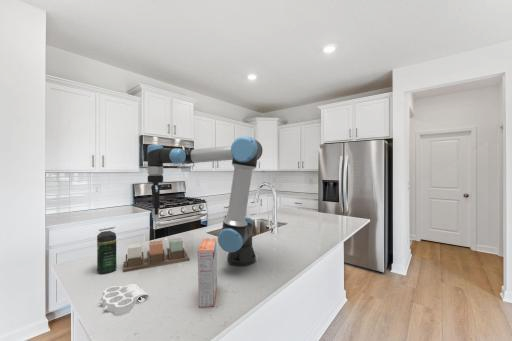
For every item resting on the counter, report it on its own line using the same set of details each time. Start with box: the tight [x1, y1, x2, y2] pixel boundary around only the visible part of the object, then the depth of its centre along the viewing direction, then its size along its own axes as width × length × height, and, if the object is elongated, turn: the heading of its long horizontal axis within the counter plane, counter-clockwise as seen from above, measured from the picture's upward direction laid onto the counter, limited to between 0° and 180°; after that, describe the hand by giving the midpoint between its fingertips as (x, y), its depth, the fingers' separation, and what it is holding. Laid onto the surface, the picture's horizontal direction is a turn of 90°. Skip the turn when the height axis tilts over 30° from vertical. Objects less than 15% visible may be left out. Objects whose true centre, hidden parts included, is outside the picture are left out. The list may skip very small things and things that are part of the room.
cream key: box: [127, 242, 142, 260], centre depth 121 cm, size 6×6×6 cm
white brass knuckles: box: [97, 283, 149, 316], centre depth 90 cm, size 3×18×15 cm
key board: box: [122, 247, 190, 273], centre depth 126 cm, size 10×31×6 cm, turn 117°
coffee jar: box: [96, 230, 117, 274], centre depth 117 cm, size 10×8×19 cm
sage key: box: [168, 237, 184, 252], centre depth 130 cm, size 6×6×6 cm
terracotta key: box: [148, 240, 164, 255], centre depth 126 cm, size 6×6×6 cm
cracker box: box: [197, 238, 218, 308], centre depth 93 cm, size 14×6×21 cm, turn 5°
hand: (155, 219), depth 125 cm, fingers open, 4 cm apart
